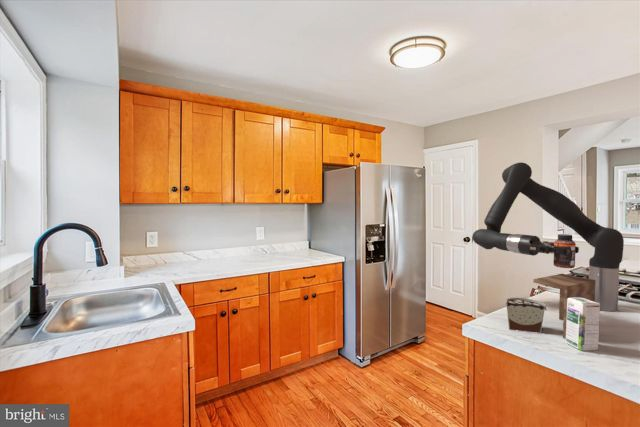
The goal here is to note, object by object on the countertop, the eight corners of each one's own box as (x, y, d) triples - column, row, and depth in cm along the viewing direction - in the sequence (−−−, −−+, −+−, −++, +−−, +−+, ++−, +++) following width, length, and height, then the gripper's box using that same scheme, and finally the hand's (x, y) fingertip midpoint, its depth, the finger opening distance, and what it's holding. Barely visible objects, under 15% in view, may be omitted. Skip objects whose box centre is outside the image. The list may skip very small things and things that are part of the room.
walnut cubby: (560, 318, 119) (561, 273, 118) (594, 328, 110) (595, 279, 109) (532, 327, 112) (533, 279, 111) (565, 338, 102) (567, 286, 102)
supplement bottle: (578, 269, 107) (580, 235, 106) (558, 268, 108) (560, 235, 107) (568, 265, 112) (570, 233, 112) (549, 264, 114) (551, 233, 113)
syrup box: (564, 342, 100) (565, 297, 99) (581, 341, 100) (583, 296, 99) (581, 351, 94) (582, 303, 93) (599, 350, 94) (600, 302, 94)
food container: (540, 326, 112) (540, 299, 112) (546, 333, 106) (546, 304, 106) (500, 322, 116) (501, 295, 116) (504, 329, 110) (505, 301, 110)
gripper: (511, 235, 119) (561, 241, 104) (534, 233, 126) (584, 238, 110) (510, 255, 120) (560, 263, 105) (534, 252, 126) (583, 259, 111)
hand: (572, 250), depth 108 cm, fingers closed on supplement bottle, 6 cm apart
